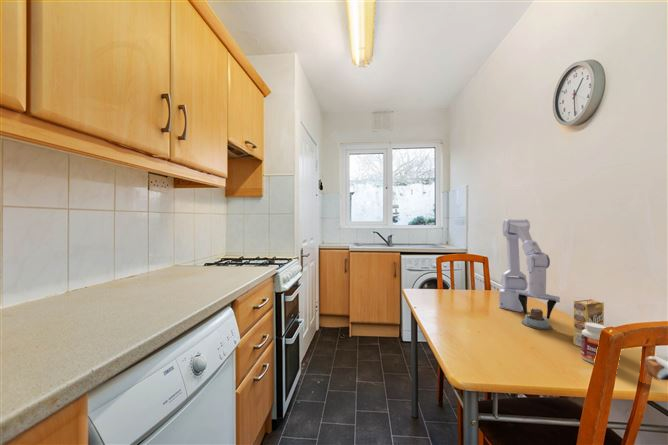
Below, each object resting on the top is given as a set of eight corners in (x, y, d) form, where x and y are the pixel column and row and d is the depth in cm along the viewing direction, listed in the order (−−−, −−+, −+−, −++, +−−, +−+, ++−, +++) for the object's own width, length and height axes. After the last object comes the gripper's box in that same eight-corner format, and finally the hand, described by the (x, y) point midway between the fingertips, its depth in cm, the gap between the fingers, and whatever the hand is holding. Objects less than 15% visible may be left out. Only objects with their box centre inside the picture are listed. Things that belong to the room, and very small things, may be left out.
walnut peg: (529, 323, 112) (529, 309, 112) (531, 321, 114) (532, 307, 114) (541, 326, 109) (541, 311, 109) (543, 324, 111) (544, 309, 111)
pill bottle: (585, 363, 82) (586, 326, 82) (577, 353, 87) (578, 320, 87) (613, 367, 79) (613, 330, 79) (602, 358, 85) (603, 323, 85)
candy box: (586, 349, 90) (587, 304, 90) (572, 344, 94) (573, 300, 94) (604, 346, 93) (605, 302, 93) (589, 341, 97) (590, 298, 97)
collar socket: (519, 324, 112) (519, 317, 112) (524, 318, 119) (524, 312, 118) (549, 332, 104) (549, 324, 104) (553, 325, 111) (553, 318, 111)
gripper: (514, 281, 114) (513, 313, 114) (558, 287, 103) (557, 323, 103) (518, 279, 119) (517, 309, 119) (561, 285, 108) (560, 318, 108)
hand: (536, 315), depth 111 cm, fingers open, 7 cm apart
